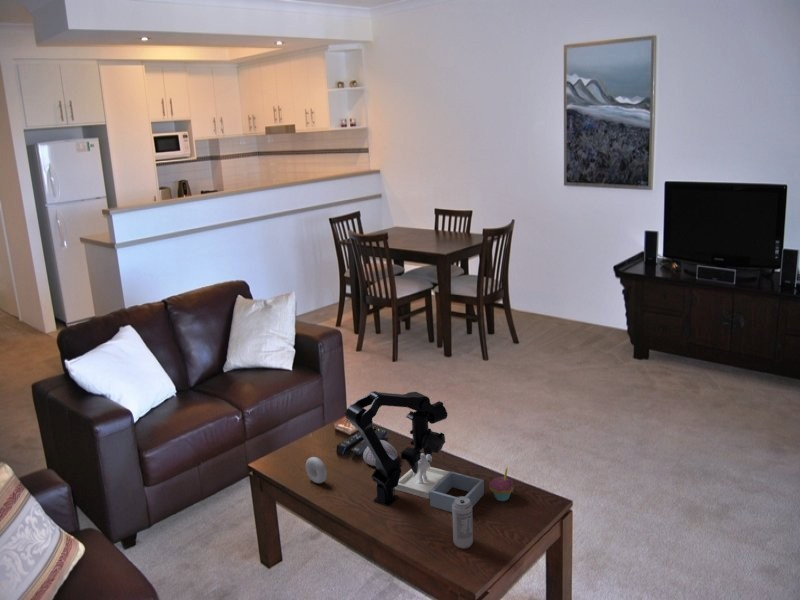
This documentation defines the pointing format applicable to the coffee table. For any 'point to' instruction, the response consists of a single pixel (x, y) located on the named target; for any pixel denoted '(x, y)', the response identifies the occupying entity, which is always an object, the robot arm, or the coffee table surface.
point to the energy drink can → (462, 522)
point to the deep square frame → (460, 482)
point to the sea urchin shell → (371, 459)
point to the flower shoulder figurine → (423, 468)
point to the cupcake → (501, 487)
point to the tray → (411, 486)
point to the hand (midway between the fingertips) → (422, 467)
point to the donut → (321, 471)
